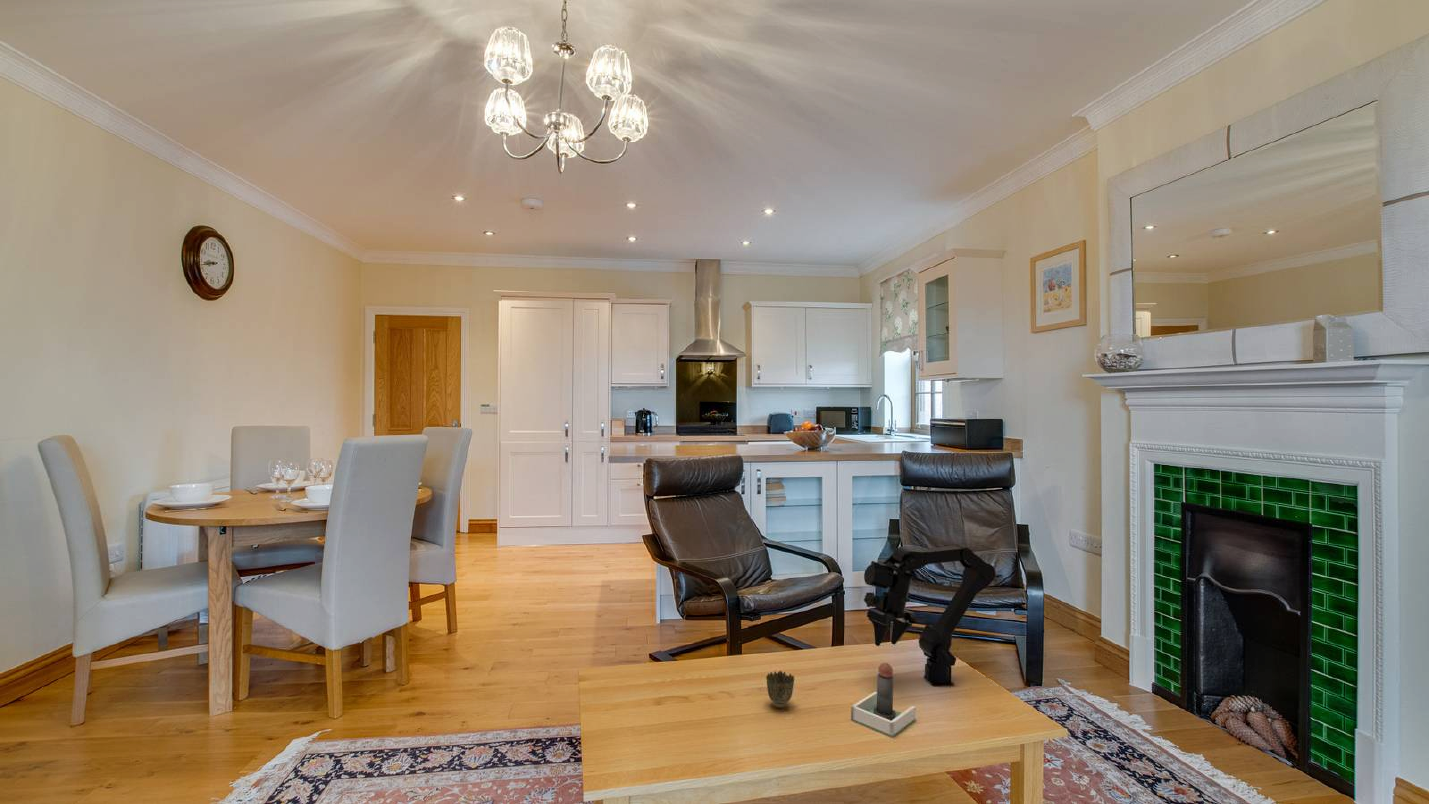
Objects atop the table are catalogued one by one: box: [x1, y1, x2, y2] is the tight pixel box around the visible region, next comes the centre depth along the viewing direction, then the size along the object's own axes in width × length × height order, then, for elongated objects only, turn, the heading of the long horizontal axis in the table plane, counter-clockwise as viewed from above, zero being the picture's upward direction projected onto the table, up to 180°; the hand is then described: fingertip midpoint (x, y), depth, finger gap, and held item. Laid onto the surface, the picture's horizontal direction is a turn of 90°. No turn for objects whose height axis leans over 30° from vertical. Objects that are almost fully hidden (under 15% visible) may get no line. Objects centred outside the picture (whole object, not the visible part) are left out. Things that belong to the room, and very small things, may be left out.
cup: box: [765, 670, 795, 710], centre depth 167 cm, size 8×7×8 cm
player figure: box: [873, 662, 896, 721], centre depth 161 cm, size 6×6×14 cm
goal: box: [850, 691, 917, 738], centre depth 160 cm, size 12×12×4 cm
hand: (885, 644), depth 180 cm, fingers open, 9 cm apart
